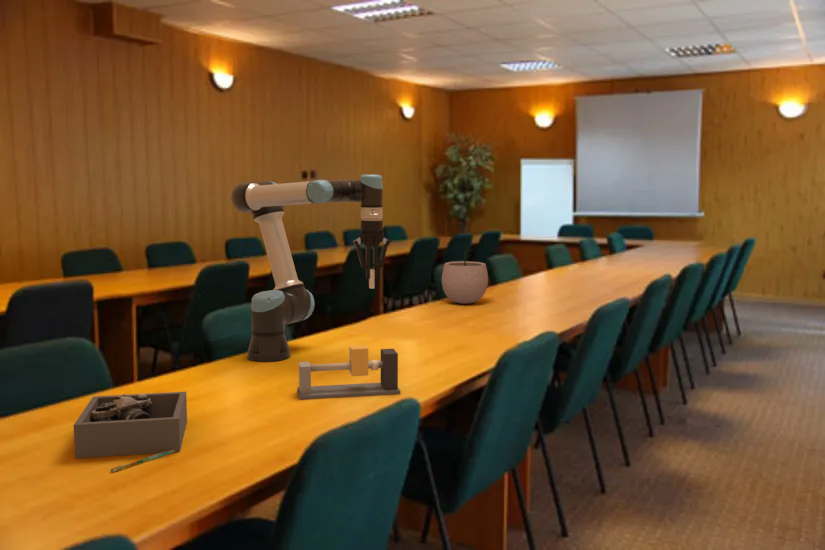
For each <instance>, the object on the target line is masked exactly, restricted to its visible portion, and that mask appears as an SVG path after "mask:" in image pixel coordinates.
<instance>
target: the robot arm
mask: <svg viewBox="0 0 825 550" xmlns="http://www.w3.org/2000/svg"><path fill="white" fill-rule="evenodd" d="M383 192H384V185H383V177H382V175H381V174H361V175H360V179H359V180H358V179H357V180H356V179H355V180H353V179H351V180H350V179H330V180H328V179H316V180H312V181H311V180H309V181H308V180H307V181H299V182H296V181H295V182H287V183H278V182H277V183H276V182H273V181H267V180H265V181H244V182H243V181H242V182H239V183H238V184H236V185H235V186H234V187H233V189H232V190H231V194H230V201H231V204H232V205H233V207H234V208H235V209H236V211H238V212H239V213H243V214H250V215H251V214H252V218H253V221H254V222H255V223H258V225H259V229H260V232H261V235H262V240H263V243H264V246H265V250H266V251H265V252H266V254H267V255H266V256H267V259H268V263H269V266H270V269H271V274H272V278H273V280H274V285H275V287H274V288H273V289H272V290H265V291H264V290H263V291H259V292H258V293H255V294H254V295H253V296H252V297H251V305H250V310H251V311H250V312H251V339H250V343H249V345H248V349H247V356H246V357H247V359H248V360H250V361H255V362H277V361H282V360H287V359H289V358H290V357H291V349H290V346H289V343H288V339H287V337H286V334H285V333H286V327H285V325H290V324H294V323H299V322H302V321H305V320H307V319H308V318H309V317H310V316H311V315H313V312H314V309H315V299H314V295H313V294H312V292H311V291H309V289H306V288H305V285H304V282H303V281H301V280H299V278H298V273H297V272H296V267H295V264H294V260H293V257H292V252H291V248H290V245H289V240H288V238H287V233H286V230H285V225H284V221H283V217H284V215H285V208H286V206H293V205H294V206H296V205H311V204H326V203H328V204H329V203H360V219H361V221H360V233H359V236H358V237H357V238H356V239H354V240H353V242H352V243H353V244H354V246H355V249H356V252H357V257H358V260H359V265H360V267H361V268H363V269H365V278H366V279H367V280H368V288H369V289H371V290H372V289H375V284H376V283H375V282H376V281H375V280H377V279H378V270H379V269H380V268H383V266H384V263H385V259H386V256H387V255H386V254H387V250H388V247H389V245H390V244H391V240H390V239H388V238H386V237H385V235H384V232H383V228H384V227H383V224H384V223H383V222H384V221H383V217H384V216H383V215H384V214H383V213H384V212H383V209H384V208H383V195H384V194H383ZM361 243H362V244H363V245H364V246H365V259H364V256H363V251H362V247H361ZM381 243H382V244H383V245H382V248H381V251H380V256H379V255H378V254H379V253H378V252H379V251H378V250H379V246H380V244H381ZM371 248H372V265H373V266H372V268H371ZM378 257H379V258H378Z"/></svg>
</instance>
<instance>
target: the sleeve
mask: <svg viewBox="0 0 825 550" xmlns="http://www.w3.org/2000/svg"><path fill="white" fill-rule="evenodd" d="M348 346H349V348H348V349H349V351H348V353H349V355H348V356H349V357H348V359H349V362H348V363H351V369H349V372H348V373H349V374H350V375H351V377H364V376H365V377H366V376H369V369H368V362H369V347H368V346H367V345H366V344H359V345H358V344H356V345H355V344H354V345H348Z"/></svg>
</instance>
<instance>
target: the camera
mask: <svg viewBox="0 0 825 550" xmlns="http://www.w3.org/2000/svg"><path fill="white" fill-rule="evenodd" d="M138 394H139V396H138V398H136V399H133V398H131V397H128V395H129V394H126V393H123V394H121V395H122V396H116V399H115V400H114V401H113V403H108V402H105V403H102V404H100V406H98V407H97V408H96V410H94V411H93V412H92V413H91V417H92V418H91V422H100V421H117V420H134V419H150V418H152V412H151V405H152V402H151V399H150V398H149V397H148V396H147V394H148V393H138Z"/></svg>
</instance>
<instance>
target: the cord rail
mask: <svg viewBox="0 0 825 550" xmlns="http://www.w3.org/2000/svg"><path fill="white" fill-rule="evenodd" d="M349 369H351V363H349V362H342V363H341V362H339V363H336V362H335V363H319V364H318V363H317V364H311V363H310V361H299V362H298V380H299V381H298V386H297V387H296V390H297V395H298V400H319V399H334V398H336V399H337V398H351V397H368V396H370V397H371V396H385V395H386V396H388V395H389V396H390V395H401V390H400V388H399V384H398V383H399V382H398V381H399V376H398V375H399V353H398V352H397V350H395V349H394V348H380V361H379V360H378V359H370V361H368V370H371V371H378V370H379V369H380V382H366V383H350V384H349V383H348V384H347V383H346V384H331V385H330V384H329V385H312V376H311V375H312V372H323V371H324V372H327V371H328V372H329V371H345V370H347V371H348V370H349Z"/></svg>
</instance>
